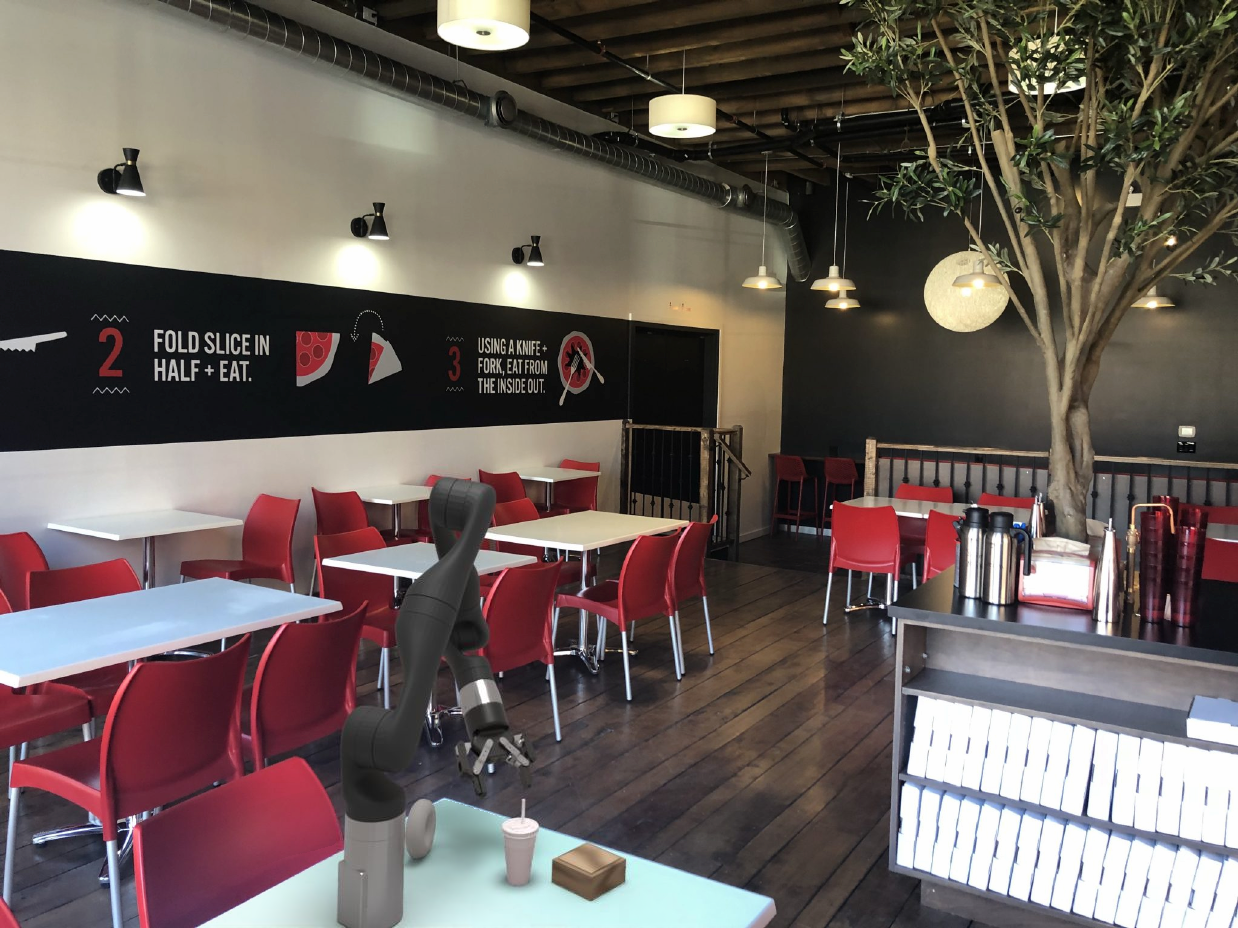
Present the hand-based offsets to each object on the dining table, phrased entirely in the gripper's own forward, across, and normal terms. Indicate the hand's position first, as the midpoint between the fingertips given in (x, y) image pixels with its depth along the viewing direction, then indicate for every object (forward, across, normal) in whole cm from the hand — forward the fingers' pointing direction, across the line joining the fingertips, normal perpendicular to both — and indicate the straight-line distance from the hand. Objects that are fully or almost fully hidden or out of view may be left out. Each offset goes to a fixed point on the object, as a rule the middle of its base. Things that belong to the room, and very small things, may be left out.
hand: (506, 792), depth 167 cm
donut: (+3, -12, +16) cm, 20 cm away
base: (+18, +11, +1) cm, 21 cm away
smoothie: (+14, 0, +5) cm, 15 cm away
